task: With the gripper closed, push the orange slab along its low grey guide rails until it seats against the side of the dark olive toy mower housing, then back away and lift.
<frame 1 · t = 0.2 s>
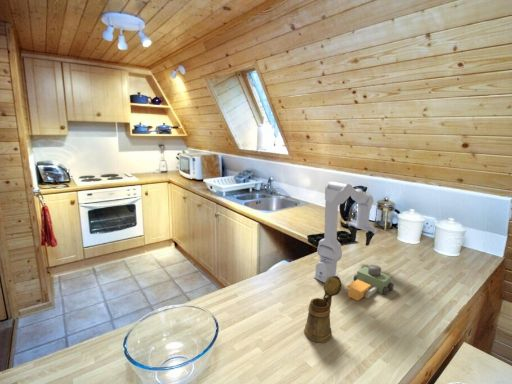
hand: (360, 242, 149), 10 cm above the counter, fingers open, 7 cm apart
wooden mug: (321, 330, 98), on the counter
mower housing: (370, 287, 126), on the counter
egg carton: (331, 241, 178), on the counter
orange slab: (358, 290, 119), point 2 cm above the counter, slide at 5.0 cm
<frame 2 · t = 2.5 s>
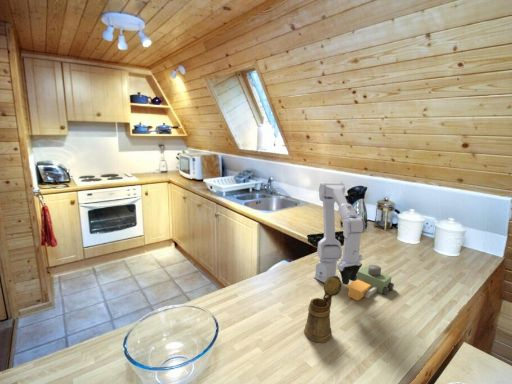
hand: (348, 281, 111), 9 cm above the counter, fingers open, 4 cm apart
nothing on the counter moved.
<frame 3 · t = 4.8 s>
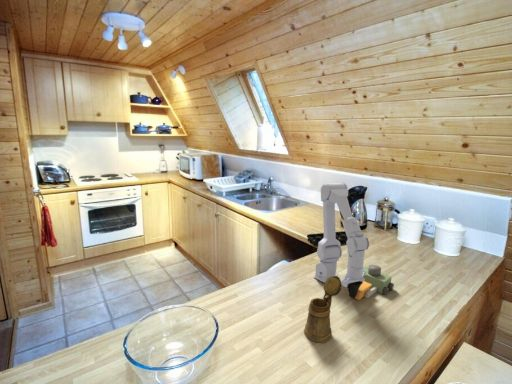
hand: (352, 296, 116), 1 cm above the counter, fingers closed
orange slab: (359, 289, 119), point 2 cm above the counter, slide at 4.2 cm, touching gripper
everything else where it was.
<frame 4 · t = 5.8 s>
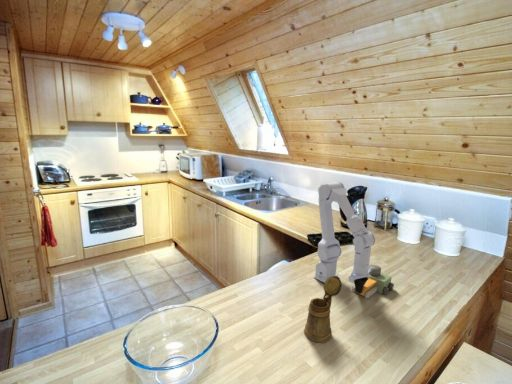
hand: (358, 292, 119), 1 cm above the counter, fingers closed
orange slab: (364, 286, 122), point 2 cm above the counter, slide at -0.1 cm, touching gripper, mower housing
everything else where it was.
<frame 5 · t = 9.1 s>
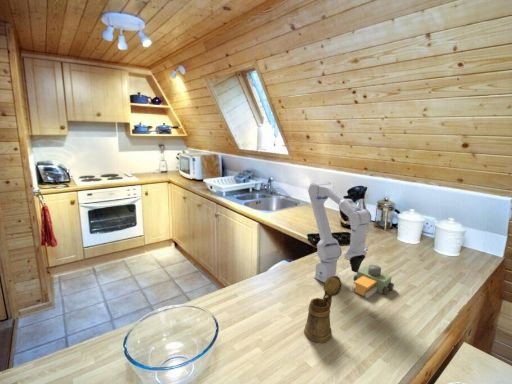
hand: (354, 271, 118), 10 cm above the counter, fingers closed
orange slab: (364, 286, 122), point 2 cm above the counter, slide at 0.0 cm
at the end: orange slab slide at 0.0 cm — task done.
